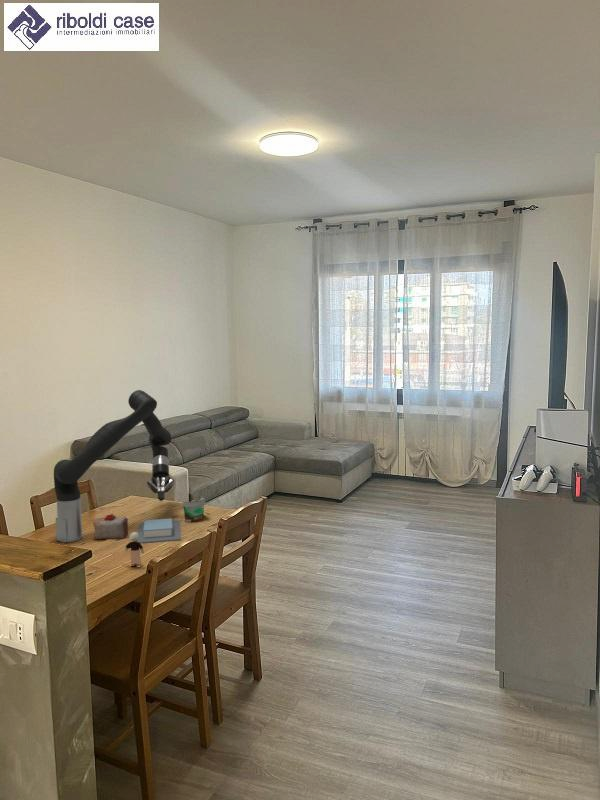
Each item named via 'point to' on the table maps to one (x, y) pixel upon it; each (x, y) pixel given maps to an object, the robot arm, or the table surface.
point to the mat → (175, 537)
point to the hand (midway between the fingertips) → (161, 499)
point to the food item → (111, 527)
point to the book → (158, 528)
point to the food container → (194, 510)
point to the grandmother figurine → (135, 549)
